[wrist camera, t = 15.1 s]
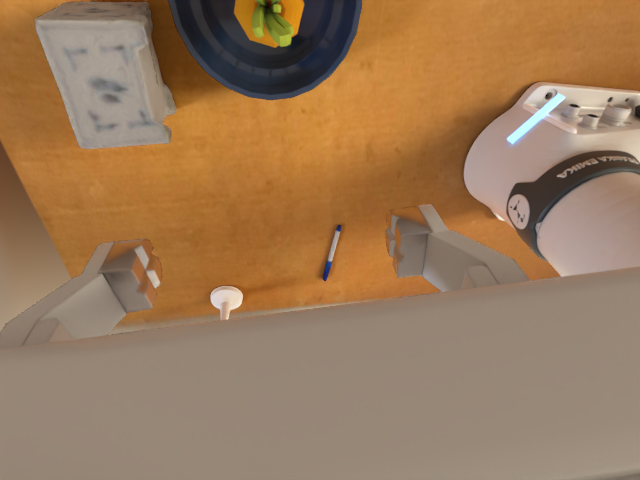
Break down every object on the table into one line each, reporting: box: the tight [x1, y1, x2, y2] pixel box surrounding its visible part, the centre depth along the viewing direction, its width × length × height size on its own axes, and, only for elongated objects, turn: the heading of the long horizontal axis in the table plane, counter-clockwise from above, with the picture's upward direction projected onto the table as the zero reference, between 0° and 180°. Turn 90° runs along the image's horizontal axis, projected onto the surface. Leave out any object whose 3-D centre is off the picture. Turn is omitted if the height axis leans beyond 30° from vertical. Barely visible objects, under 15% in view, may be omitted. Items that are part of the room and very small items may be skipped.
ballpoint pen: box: [323, 225, 341, 281], centre depth 54 cm, size 10×1×1 cm, turn 170°
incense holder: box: [35, 1, 176, 149], centre depth 32 cm, size 10×8×10 cm
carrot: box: [234, 0, 304, 48], centre depth 28 cm, size 5×5×15 cm
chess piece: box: [211, 286, 243, 320], centre depth 54 cm, size 5×5×10 cm
